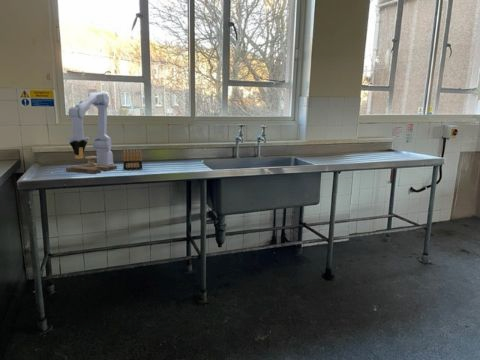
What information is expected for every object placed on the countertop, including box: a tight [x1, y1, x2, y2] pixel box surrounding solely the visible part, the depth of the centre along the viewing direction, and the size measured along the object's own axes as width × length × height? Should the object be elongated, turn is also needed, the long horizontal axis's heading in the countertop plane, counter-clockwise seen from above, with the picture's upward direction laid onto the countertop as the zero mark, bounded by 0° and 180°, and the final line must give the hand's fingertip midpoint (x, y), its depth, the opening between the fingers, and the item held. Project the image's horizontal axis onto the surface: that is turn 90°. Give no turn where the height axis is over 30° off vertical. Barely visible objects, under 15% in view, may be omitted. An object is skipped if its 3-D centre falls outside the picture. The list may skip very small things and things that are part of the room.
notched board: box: [65, 162, 118, 175], centre depth 205 cm, size 18×20×2 cm
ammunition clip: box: [122, 148, 143, 171], centre depth 209 cm, size 11×2×12 cm, turn 110°
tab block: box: [74, 147, 84, 160], centre depth 197 cm, size 3×3×6 cm
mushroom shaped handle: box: [84, 155, 97, 166], centre depth 208 cm, size 6×6×5 cm
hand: (79, 154), depth 197 cm, fingers closed on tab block, 3 cm apart
